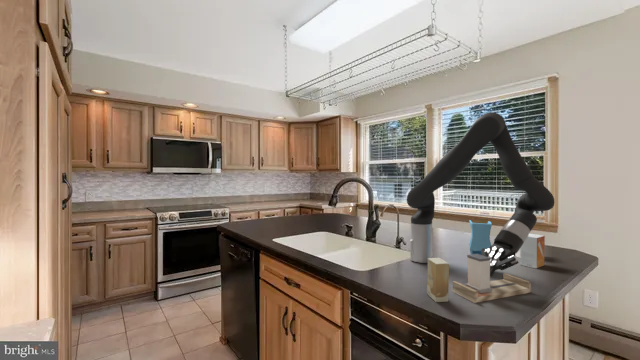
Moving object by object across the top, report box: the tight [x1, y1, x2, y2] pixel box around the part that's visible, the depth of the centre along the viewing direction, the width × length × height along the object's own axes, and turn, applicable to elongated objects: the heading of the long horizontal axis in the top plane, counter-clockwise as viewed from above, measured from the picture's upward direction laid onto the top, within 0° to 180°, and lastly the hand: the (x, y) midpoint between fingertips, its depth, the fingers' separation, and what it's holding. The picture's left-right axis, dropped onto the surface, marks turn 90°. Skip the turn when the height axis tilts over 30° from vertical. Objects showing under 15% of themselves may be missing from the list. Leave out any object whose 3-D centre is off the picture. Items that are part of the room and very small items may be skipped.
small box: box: [519, 232, 546, 269], centre depth 125 cm, size 8×6×13 cm
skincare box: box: [426, 257, 450, 303], centre depth 93 cm, size 6×4×12 cm
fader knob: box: [464, 254, 492, 293], centre depth 95 cm, size 5×6×11 cm
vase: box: [468, 219, 493, 255], centre depth 118 cm, size 8×8×20 cm
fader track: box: [452, 272, 532, 304], centre depth 97 cm, size 24×9×4 cm, turn 108°
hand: (484, 276), depth 96 cm, fingers closed
